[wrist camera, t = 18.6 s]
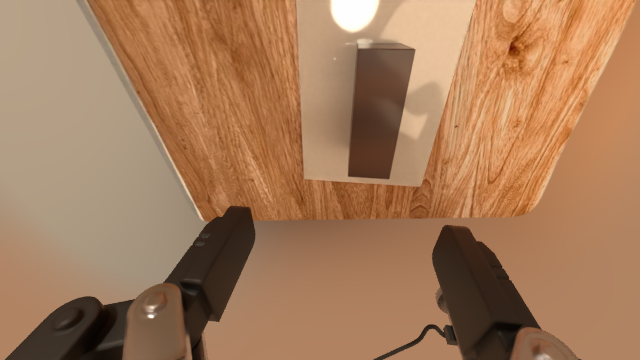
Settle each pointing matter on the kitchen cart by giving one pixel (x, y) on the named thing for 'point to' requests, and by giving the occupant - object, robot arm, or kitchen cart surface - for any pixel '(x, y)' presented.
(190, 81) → the kitchen cart surface
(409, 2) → the tile
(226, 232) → the robot arm
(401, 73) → the dark brown block
